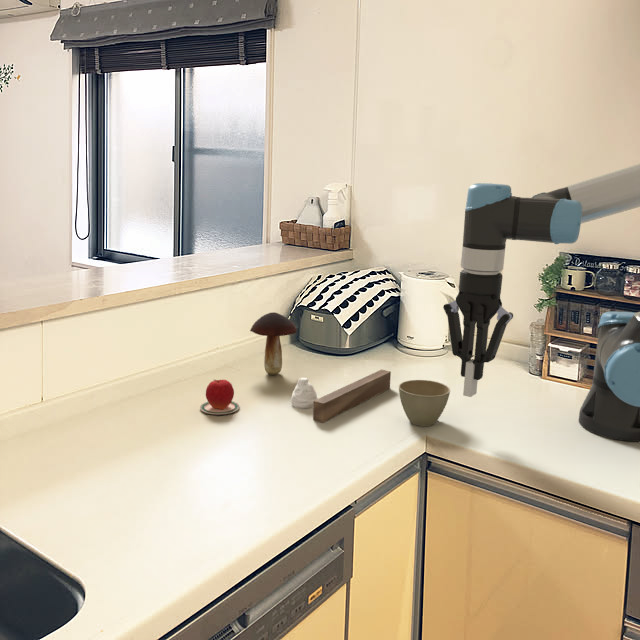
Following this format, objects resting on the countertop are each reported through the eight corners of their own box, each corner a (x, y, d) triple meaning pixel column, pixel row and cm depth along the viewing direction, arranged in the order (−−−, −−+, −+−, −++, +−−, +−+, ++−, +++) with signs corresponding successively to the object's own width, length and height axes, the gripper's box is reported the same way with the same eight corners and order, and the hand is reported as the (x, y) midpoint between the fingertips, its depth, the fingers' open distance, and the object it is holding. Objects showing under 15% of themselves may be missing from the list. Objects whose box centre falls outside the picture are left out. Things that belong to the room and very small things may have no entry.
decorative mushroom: (246, 369, 171) (245, 308, 167) (290, 365, 174) (290, 306, 170) (255, 383, 160) (255, 319, 157) (302, 379, 164) (303, 316, 160)
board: (389, 388, 159) (390, 371, 158) (323, 422, 138) (323, 403, 138) (380, 386, 160) (381, 369, 159) (313, 419, 140) (313, 400, 139)
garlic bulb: (287, 379, 145) (298, 372, 150) (286, 406, 147) (298, 398, 152) (310, 383, 143) (322, 375, 148) (310, 411, 145) (321, 402, 149)
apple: (193, 413, 142) (192, 382, 141) (210, 400, 150) (210, 371, 148) (229, 418, 140) (229, 387, 138) (245, 405, 147) (245, 375, 146)
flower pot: (447, 433, 135) (449, 398, 133) (394, 428, 137) (396, 393, 135) (448, 414, 144) (450, 381, 142) (399, 410, 146) (401, 377, 144)
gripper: (524, 273, 127) (510, 397, 132) (457, 263, 134) (447, 381, 140) (508, 278, 121) (494, 408, 126) (439, 268, 128) (429, 391, 134)
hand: (469, 394), depth 133 cm, fingers closed
